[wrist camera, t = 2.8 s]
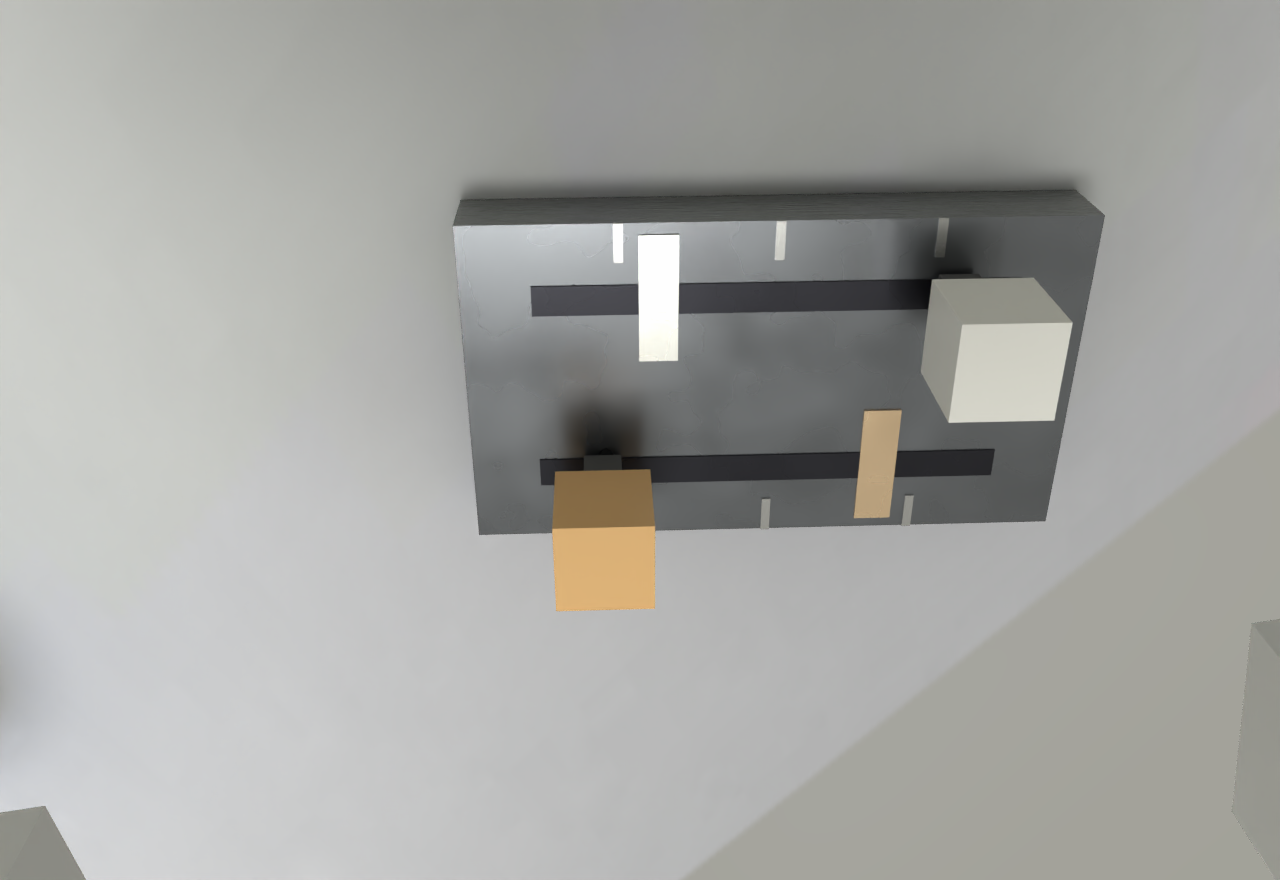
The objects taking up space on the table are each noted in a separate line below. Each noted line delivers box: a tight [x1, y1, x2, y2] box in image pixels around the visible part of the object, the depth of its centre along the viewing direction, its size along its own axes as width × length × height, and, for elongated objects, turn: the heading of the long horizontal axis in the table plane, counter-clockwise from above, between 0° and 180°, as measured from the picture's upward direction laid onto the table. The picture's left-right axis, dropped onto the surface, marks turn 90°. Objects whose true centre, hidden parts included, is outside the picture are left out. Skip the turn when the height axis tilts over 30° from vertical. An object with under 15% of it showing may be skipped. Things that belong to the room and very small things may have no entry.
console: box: [453, 190, 1105, 535], centre depth 32 cm, size 16×9×2 cm, turn 90°
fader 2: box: [921, 274, 1073, 423], centre depth 28 cm, size 2×2×4 cm
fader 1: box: [552, 455, 655, 611], centre depth 30 cm, size 2×2×4 cm
